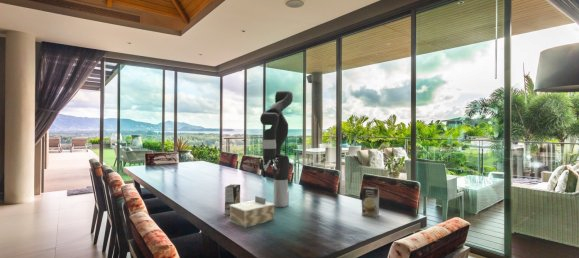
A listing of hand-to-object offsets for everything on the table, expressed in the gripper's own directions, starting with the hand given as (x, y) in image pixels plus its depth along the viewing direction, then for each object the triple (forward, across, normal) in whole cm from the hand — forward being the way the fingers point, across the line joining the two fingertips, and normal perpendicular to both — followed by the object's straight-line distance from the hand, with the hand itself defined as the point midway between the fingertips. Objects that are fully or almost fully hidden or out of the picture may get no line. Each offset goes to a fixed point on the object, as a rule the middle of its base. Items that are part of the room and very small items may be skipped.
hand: (269, 176), depth 169 cm
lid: (+14, +12, 0) cm, 19 cm away
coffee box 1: (+23, +12, -20) cm, 32 cm away
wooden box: (+23, +12, 0) cm, 26 cm away
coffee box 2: (+23, -46, +38) cm, 64 cm away
